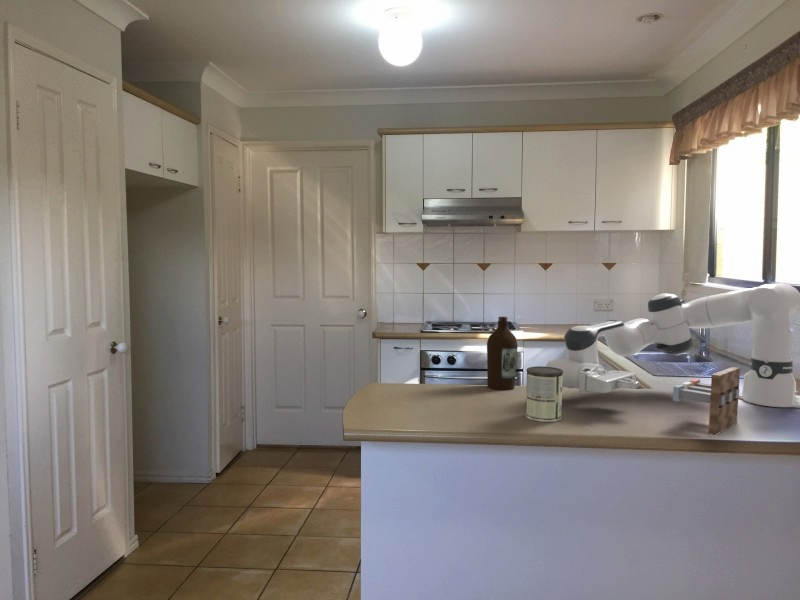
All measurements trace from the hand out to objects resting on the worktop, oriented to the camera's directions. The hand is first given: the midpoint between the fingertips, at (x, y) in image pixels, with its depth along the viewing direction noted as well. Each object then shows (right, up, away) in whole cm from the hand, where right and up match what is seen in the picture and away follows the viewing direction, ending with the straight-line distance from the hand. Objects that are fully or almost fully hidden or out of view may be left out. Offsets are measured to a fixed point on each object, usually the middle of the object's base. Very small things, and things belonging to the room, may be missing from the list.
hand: (637, 385), depth 186 cm
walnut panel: (+20, -10, -10) cm, 25 cm away
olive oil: (-34, -6, +37) cm, 51 cm away
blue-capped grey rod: (+12, -3, -12) cm, 18 cm away
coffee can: (-28, -9, -2) cm, 30 cm away
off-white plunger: (+17, -3, -8) cm, 19 cm away
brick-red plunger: (+21, -3, -4) cm, 21 cm away
